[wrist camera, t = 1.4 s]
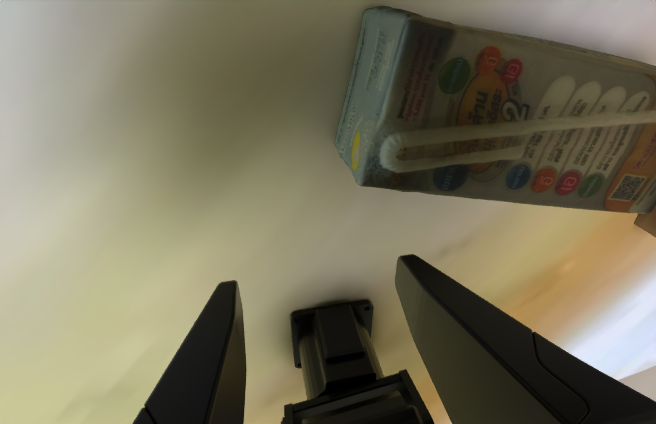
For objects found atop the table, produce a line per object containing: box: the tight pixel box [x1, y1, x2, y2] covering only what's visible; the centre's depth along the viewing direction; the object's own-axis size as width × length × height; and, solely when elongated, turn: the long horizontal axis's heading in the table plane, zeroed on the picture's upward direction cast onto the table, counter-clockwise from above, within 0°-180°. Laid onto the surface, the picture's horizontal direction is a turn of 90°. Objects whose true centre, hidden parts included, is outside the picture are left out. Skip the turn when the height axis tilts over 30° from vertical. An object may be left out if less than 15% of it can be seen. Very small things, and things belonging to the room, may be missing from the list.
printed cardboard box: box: [335, 6, 656, 214], centre depth 20 cm, size 8×19×6 cm, turn 78°
